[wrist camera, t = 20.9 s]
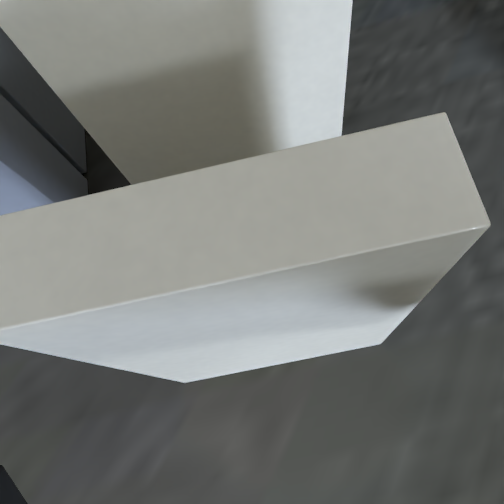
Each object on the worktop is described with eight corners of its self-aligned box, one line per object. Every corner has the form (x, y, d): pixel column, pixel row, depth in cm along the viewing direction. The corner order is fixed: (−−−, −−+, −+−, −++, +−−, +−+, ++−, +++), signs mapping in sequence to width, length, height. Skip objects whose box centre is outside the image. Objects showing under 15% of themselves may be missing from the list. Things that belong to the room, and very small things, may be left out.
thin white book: (381, 343, 22) (493, 225, 8) (184, 383, 23) (-36, 337, 9) (367, 295, 23) (446, 109, 9) (178, 334, 23) (-30, 221, 9)
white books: (337, 187, 25) (361, -98, 11) (165, 226, 26) (-19, 5, 12) (311, 95, 27) (304, -239, 13) (154, 132, 28) (-11, -146, 14)
